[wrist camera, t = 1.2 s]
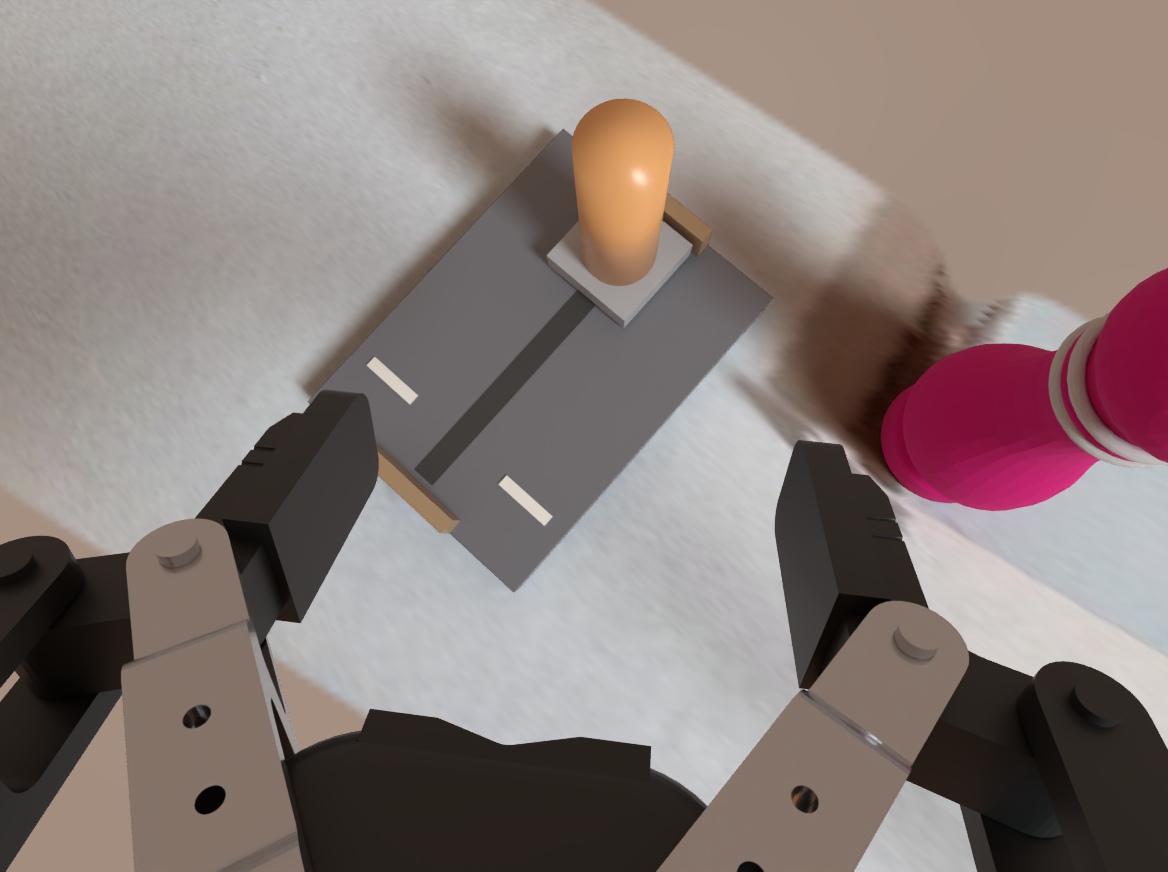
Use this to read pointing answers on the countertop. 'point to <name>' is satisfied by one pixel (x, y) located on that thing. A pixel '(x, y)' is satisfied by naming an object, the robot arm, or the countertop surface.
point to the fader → (620, 209)
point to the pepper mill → (1037, 410)
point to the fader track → (534, 372)
